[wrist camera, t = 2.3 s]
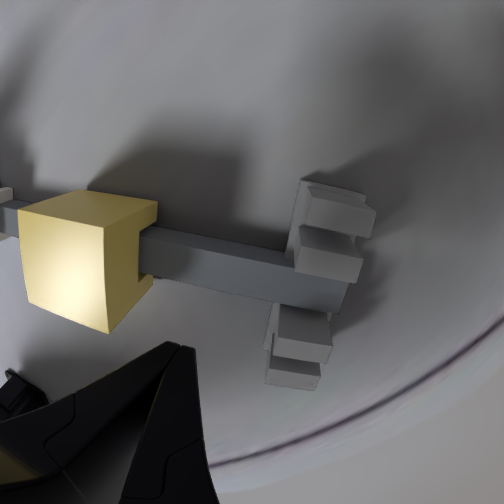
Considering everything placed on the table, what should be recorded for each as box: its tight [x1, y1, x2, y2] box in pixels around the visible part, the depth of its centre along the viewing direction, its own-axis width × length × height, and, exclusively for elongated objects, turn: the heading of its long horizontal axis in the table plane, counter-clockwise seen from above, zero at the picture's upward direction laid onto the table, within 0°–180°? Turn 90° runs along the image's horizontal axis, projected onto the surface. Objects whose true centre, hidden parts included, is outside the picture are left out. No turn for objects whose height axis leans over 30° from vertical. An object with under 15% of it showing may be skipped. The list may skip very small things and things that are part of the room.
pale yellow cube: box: [17, 189, 158, 334], centre depth 13 cm, size 5×5×5 cm
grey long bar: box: [0, 187, 349, 314], centre depth 13 cm, size 28×4×4 cm, turn 80°
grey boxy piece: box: [263, 179, 377, 391], centre depth 13 cm, size 3×9×4 cm, turn 170°
